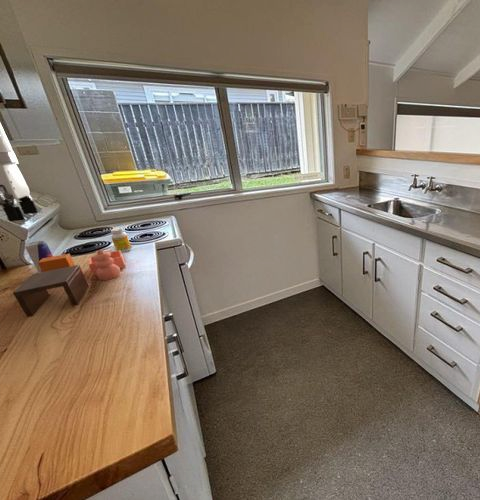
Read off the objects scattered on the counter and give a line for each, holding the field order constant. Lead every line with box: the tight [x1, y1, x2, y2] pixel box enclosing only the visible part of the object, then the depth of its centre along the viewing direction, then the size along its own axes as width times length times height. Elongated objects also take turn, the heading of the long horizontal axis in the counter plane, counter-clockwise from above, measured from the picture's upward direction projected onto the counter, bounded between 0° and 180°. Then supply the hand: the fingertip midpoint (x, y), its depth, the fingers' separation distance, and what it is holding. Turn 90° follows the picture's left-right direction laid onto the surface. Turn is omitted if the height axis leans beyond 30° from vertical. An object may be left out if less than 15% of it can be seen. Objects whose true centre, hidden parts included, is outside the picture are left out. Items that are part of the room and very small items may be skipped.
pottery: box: [88, 249, 126, 281], centre depth 102 cm, size 18×10×10 cm, turn 39°
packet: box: [38, 253, 76, 272], centre depth 96 cm, size 7×4×9 cm, turn 120°
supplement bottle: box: [110, 227, 133, 253], centre depth 121 cm, size 5×5×10 cm
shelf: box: [12, 264, 90, 318], centre depth 85 cm, size 11×13×8 cm
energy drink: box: [24, 240, 53, 273], centre depth 102 cm, size 5×5×12 cm
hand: (24, 216), depth 88 cm, fingers open, 9 cm apart
